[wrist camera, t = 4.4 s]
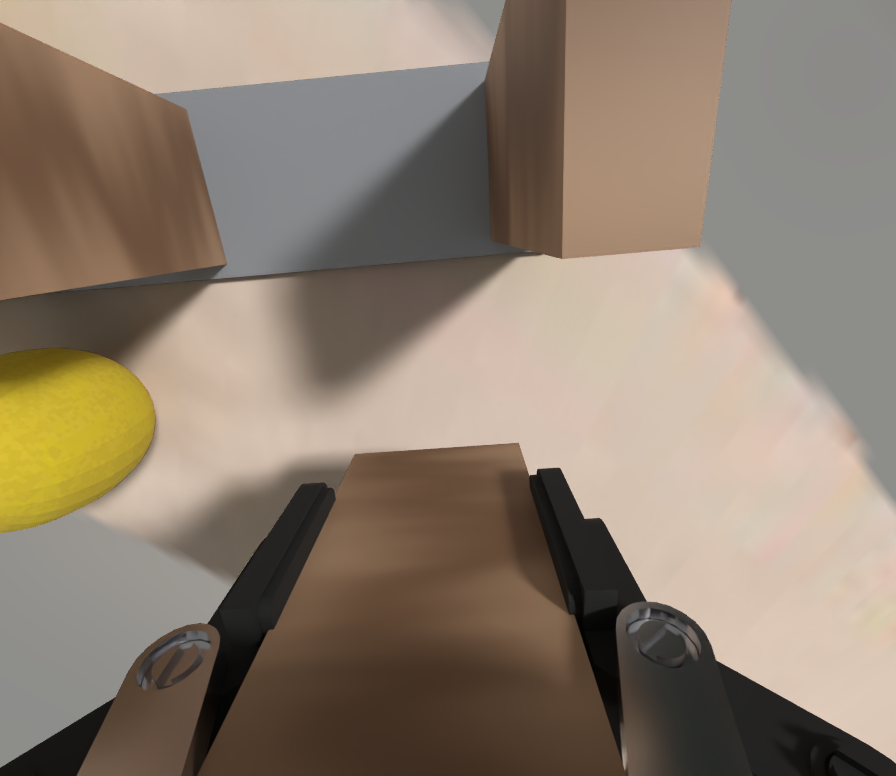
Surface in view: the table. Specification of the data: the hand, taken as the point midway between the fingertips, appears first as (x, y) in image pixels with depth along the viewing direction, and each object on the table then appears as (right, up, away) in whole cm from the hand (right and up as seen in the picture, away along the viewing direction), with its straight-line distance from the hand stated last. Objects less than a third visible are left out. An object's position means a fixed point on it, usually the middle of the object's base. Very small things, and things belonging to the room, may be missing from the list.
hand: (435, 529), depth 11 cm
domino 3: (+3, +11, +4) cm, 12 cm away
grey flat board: (-10, +11, +5) cm, 15 cm away
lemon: (-13, +4, +7) cm, 16 cm away
